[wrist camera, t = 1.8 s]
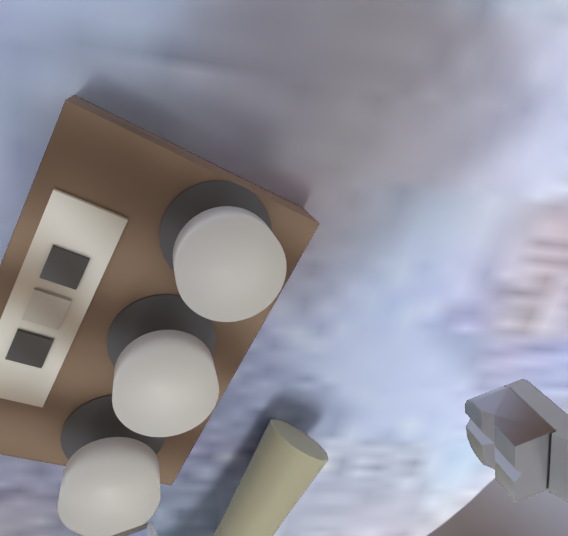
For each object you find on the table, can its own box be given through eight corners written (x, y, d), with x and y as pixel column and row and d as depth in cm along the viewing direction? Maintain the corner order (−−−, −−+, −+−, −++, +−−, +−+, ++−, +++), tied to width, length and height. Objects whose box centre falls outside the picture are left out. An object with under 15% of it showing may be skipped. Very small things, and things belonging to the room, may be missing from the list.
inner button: (138, 512, 28) (137, 542, 26) (49, 498, 26) (42, 531, 24) (173, 447, 27) (176, 475, 25) (83, 428, 25) (79, 456, 23)
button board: (169, 452, 34) (171, 491, 31) (-50, 406, 29) (-73, 448, 26) (303, 208, 30) (322, 226, 27) (74, 95, 24) (63, 101, 21)
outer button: (247, 315, 25) (255, 335, 23) (155, 282, 23) (156, 301, 21) (293, 231, 24) (305, 246, 22) (200, 188, 22) (206, 200, 20)
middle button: (188, 420, 26) (192, 446, 25) (98, 397, 24) (95, 424, 23) (229, 346, 25) (236, 368, 23) (138, 316, 23) (137, 338, 21)
